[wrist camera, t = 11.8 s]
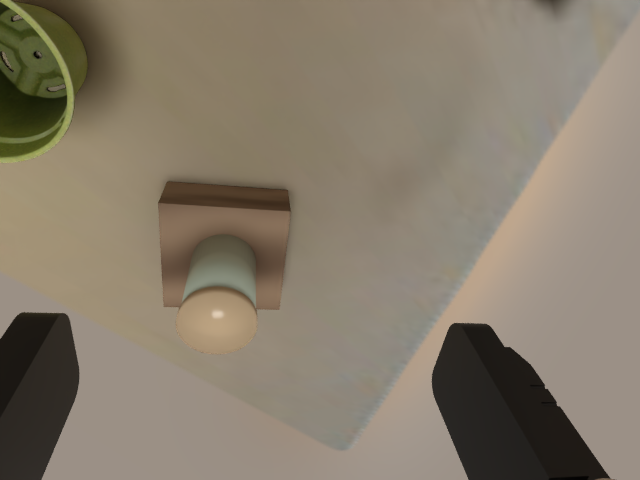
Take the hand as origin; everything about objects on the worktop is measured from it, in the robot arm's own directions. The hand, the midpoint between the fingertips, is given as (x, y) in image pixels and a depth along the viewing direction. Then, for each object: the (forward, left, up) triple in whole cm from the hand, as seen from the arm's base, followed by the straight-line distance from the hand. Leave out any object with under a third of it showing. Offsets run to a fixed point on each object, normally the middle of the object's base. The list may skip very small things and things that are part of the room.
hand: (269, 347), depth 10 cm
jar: (+14, -2, -24) cm, 28 cm away
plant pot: (0, -15, -28) cm, 32 cm away
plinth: (+14, -2, -28) cm, 31 cm away
